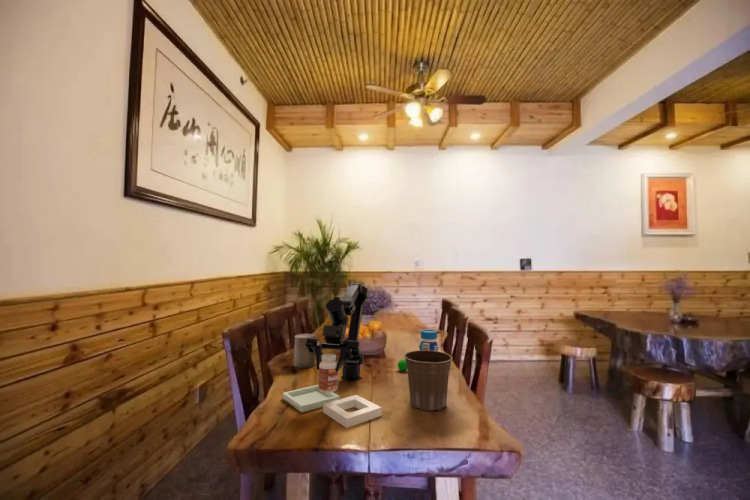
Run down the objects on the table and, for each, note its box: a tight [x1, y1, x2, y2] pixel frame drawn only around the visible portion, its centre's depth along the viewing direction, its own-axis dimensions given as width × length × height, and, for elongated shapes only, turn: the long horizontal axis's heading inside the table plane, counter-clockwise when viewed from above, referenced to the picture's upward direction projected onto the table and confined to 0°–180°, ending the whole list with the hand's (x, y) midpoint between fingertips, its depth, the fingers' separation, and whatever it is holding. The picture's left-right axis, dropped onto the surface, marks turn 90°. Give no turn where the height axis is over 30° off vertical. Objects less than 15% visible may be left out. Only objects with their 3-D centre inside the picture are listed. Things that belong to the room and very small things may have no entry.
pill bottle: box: [317, 353, 339, 393], centre depth 108 cm, size 6×6×11 cm
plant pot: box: [403, 349, 453, 412], centre depth 112 cm, size 16×16×16 cm
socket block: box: [322, 394, 382, 429], centre depth 103 cm, size 13×13×2 cm
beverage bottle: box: [418, 329, 439, 351], centre depth 138 cm, size 8×8×20 cm
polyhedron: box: [397, 359, 407, 372], centre depth 149 cm, size 5×5×5 cm
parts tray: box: [282, 384, 340, 414], centre depth 113 cm, size 14×14×2 cm
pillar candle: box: [293, 332, 316, 369], centre depth 154 cm, size 10×10×15 cm
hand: (327, 370), depth 106 cm, fingers closed on pill bottle, 6 cm apart
